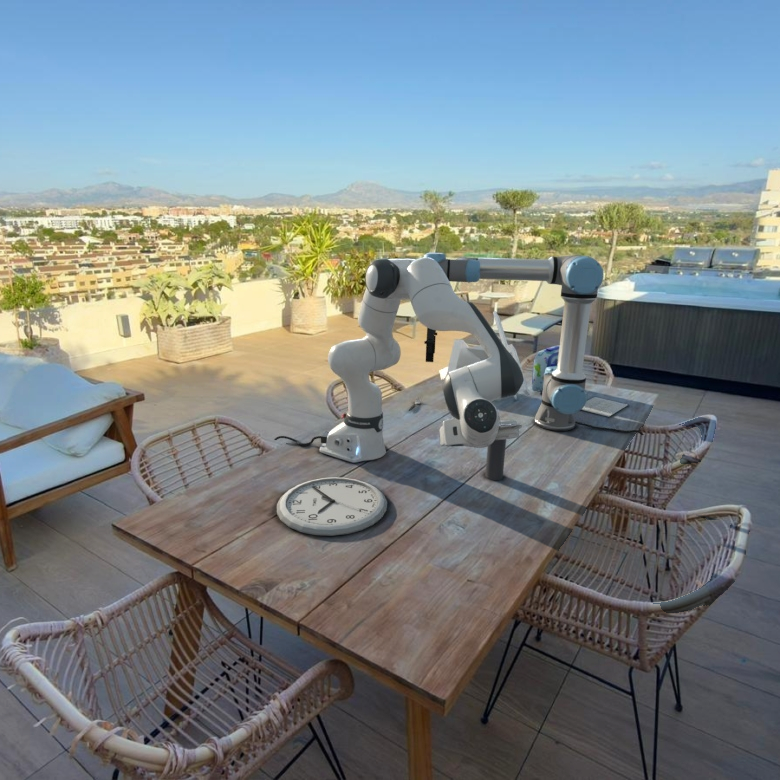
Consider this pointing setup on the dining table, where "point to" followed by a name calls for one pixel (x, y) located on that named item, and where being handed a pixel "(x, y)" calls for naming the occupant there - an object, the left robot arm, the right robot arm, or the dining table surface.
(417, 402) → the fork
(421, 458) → the dining table surface
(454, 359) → the white plastic object
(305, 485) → the wall clock
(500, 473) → the jar
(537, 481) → the dining table surface
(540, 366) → the lunch box
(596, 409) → the invitation card
